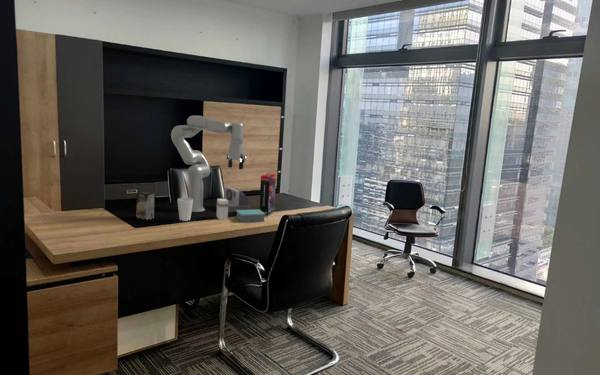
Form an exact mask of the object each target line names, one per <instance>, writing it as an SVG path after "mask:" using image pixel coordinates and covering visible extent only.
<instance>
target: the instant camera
mask: <svg viewBox="0 0 600 375" xmlns="http://www.w3.org/2000/svg"><path fill="white" fill-rule="evenodd" d="M223 199H227V200H228V213H235V212H236V210H251V202H250V200H249V199H248V197H247V195H246V194H245V193H243V190H239V189H237V188H233V187H230V186H224V187H223ZM236 213H237V212H236Z"/></svg>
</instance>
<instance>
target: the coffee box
mask: <svg viewBox="0 0 600 375" xmlns="http://www.w3.org/2000/svg"><path fill="white" fill-rule="evenodd" d="M135 216H136V217H137V218H136V219H140V218H141V220H144V219H146V221H148V219H149V220H153V219H154V218H155V193H154V192H149V191H145V190H143V191H138V192H136V215H135ZM152 218H153V219H152Z"/></svg>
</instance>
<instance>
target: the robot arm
mask: <svg viewBox="0 0 600 375" xmlns="http://www.w3.org/2000/svg"><path fill="white" fill-rule="evenodd" d="M186 123H187V124H184V125H183V124H181V125H175V126H174V127H173V129H172V130H171V133H170V137H171V141H172V142H173V145H174V146H175V148H176V149H177V152H178V153H179V155H180V157H181V159H182V161H183V162H184V164H186V165H191V166H190V167H189V168H188V171H187V176H188V198H191V199H193V205H192V211H191V213H200V212H205V210H206V209H205V207H204V205H203V204H204V181H203V178H207V177H209V176H210V175H211V166H210V164H209V163H208V161H207V159H206V158H205V156H204V153H202V152H201V151H200V150H197V149H196V150H194V149H193V148H192V147H191V145H190V143H189V142H188V141H187V140H186V138H187V139H188V138H192V137H194V136H196V135H197V134H199V132H201V131H202V130H203V131H205V132H206V131H207V132H211V133H216V134H231V135H230V140H229V141H230V144H229V147H228V152H227V153H226V154H225V156H226V159H227V163H228V164H227V167H228V168H229V169H230V168H233V160H235V161H238V162H239V163H238V169H239V170H244V164H245V162H246V160H247V155H245V154H244V151H245V150H244V145H243V141H244V124H243V123H241V122H232V121H219V120H213V119H212V118H210V117H204V116H202V115H190V116H189V117H188V118H187V119H186Z"/></svg>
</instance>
